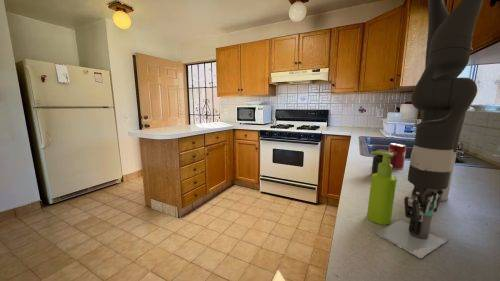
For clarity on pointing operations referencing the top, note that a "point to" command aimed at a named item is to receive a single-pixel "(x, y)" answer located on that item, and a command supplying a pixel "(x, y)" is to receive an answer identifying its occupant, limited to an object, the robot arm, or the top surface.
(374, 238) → the top surface
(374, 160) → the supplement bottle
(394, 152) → the soda can
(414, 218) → the robot arm
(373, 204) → the soap dispenser
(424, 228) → the marker
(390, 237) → the notepad
